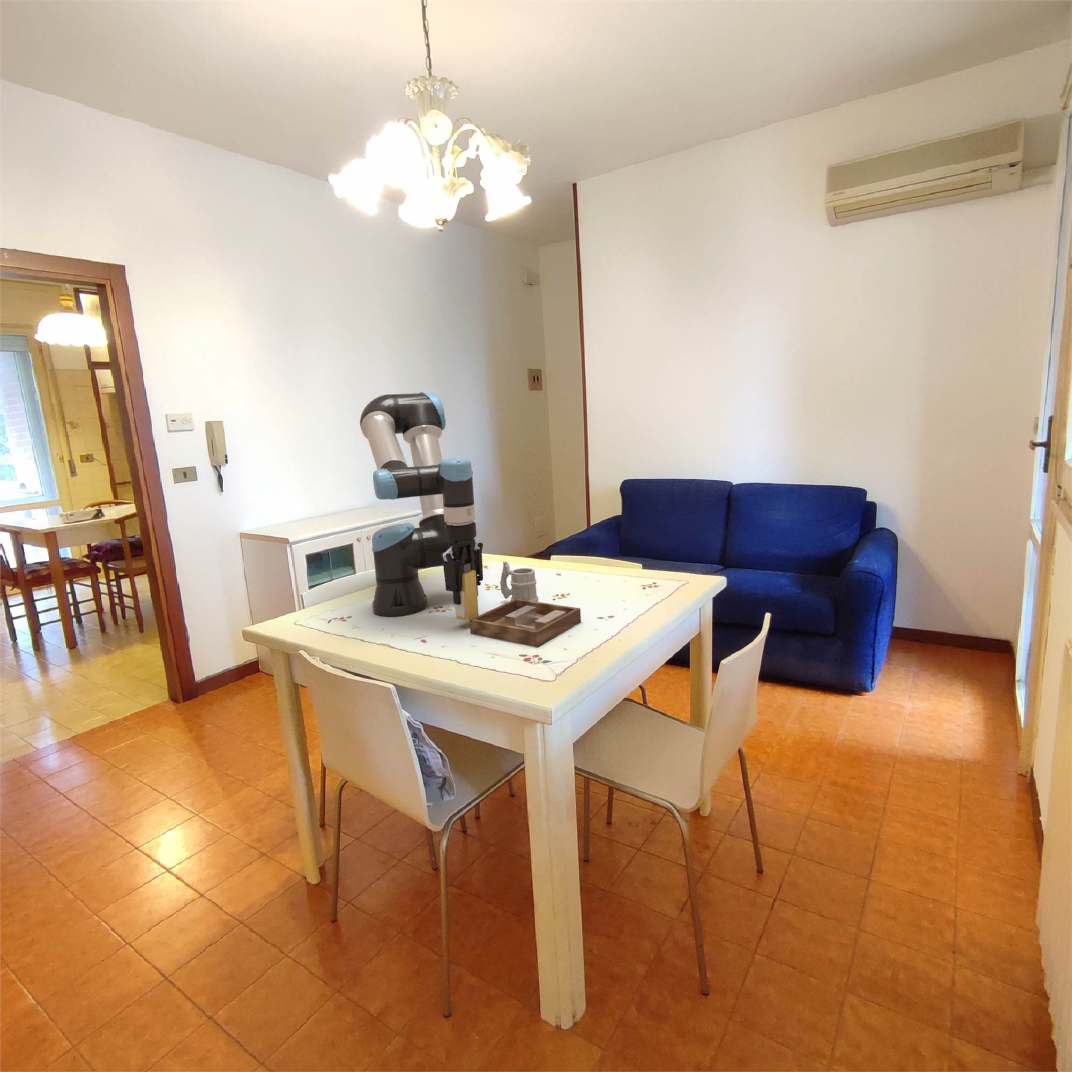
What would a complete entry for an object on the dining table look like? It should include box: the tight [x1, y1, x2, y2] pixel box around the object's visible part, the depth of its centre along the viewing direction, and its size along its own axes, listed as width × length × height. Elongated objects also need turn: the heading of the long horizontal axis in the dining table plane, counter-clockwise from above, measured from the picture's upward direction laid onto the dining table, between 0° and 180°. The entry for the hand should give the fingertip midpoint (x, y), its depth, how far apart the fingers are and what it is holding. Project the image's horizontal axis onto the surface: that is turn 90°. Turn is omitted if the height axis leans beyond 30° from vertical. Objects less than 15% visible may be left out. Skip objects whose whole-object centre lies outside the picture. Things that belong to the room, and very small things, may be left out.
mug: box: [499, 560, 539, 602], centre depth 172 cm, size 8×12×12 cm, turn 55°
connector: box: [455, 563, 480, 622], centre depth 156 cm, size 4×4×14 cm
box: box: [468, 599, 582, 648], centre depth 153 cm, size 20×19×4 cm
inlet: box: [505, 605, 566, 630], centre depth 152 cm, size 12×9×3 cm
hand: (467, 612), depth 157 cm, fingers closed on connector, 4 cm apart
